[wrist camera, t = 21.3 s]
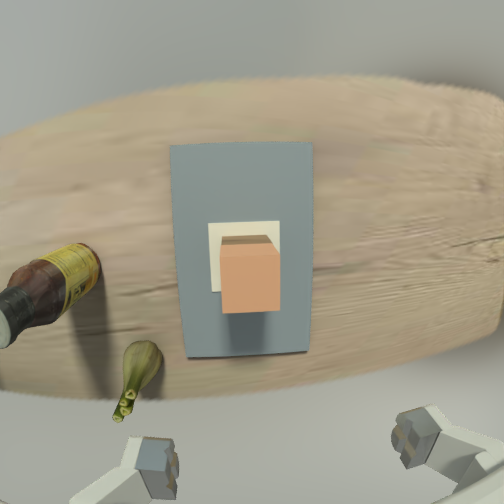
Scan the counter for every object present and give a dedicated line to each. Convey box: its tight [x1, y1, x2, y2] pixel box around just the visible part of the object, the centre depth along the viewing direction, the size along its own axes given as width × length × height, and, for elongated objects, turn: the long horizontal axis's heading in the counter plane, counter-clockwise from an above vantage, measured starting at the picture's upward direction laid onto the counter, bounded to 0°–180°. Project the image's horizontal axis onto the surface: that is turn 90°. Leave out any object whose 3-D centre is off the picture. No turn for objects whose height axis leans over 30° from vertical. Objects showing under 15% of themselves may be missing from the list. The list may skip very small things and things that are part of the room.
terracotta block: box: [220, 243, 280, 313], centre depth 29 cm, size 5×5×5 cm
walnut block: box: [221, 235, 273, 245], centre depth 34 cm, size 5×5×5 cm
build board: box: [170, 142, 313, 357], centre depth 37 cm, size 26×16×1 cm, turn 2°
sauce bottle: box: [0, 243, 100, 349], centre depth 27 cm, size 7×6×20 cm
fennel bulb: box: [112, 341, 163, 423], centre depth 34 cm, size 6×5×12 cm
